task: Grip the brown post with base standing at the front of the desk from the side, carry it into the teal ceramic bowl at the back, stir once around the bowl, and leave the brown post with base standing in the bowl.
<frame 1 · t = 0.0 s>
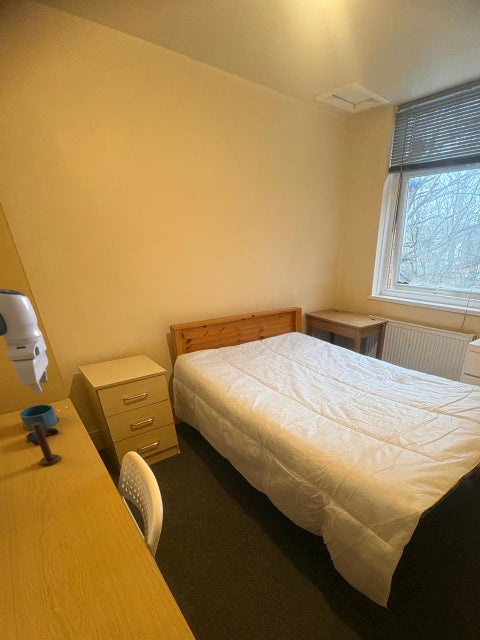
hand: (41, 387, 102), 26 cm above the table, tool pointing down, fingers open, 8 cm apart
brown post with base: (50, 461, 110), on the table
bowl: (41, 423, 132), on the table
gaming controller: (42, 438, 122), on the table
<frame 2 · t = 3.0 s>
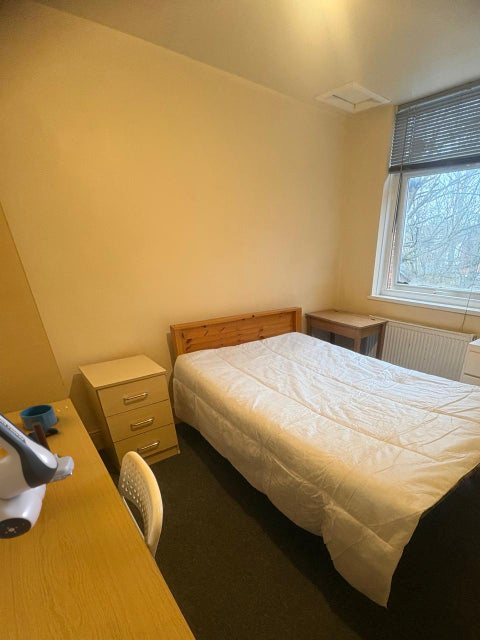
hand: (35, 459, 97), 9 cm above the table, tool horizontal, fingers open, 8 cm apart
nothing on the table moved.
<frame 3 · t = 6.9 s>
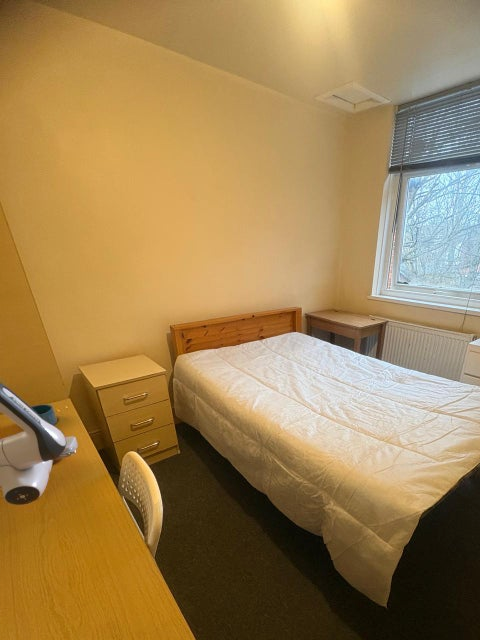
hand: (42, 439, 107), 9 cm above the table, tool horizontal, fingers closed on brown post with base, 2 cm apart
brown post with base: (50, 461, 110), on the table, touching gripper
everything else where it was.
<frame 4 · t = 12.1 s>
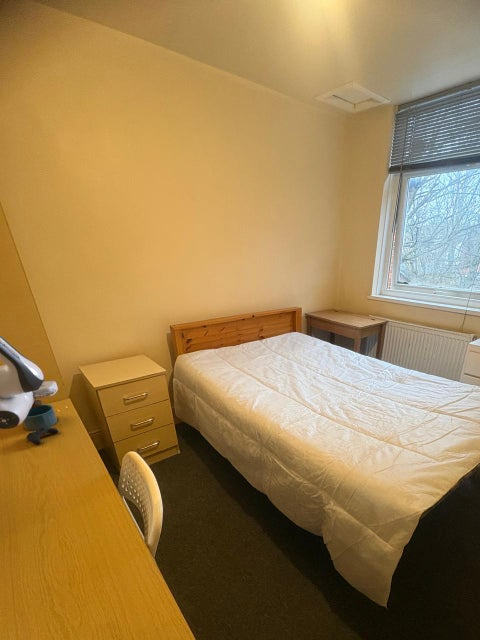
hand: (26, 383, 118), 20 cm above the table, tool horizontal, fingers closed on brown post with base, 2 cm apart
brown post with base: (33, 405, 122), point 11 cm above the table, touching gripper
everything else where it was.
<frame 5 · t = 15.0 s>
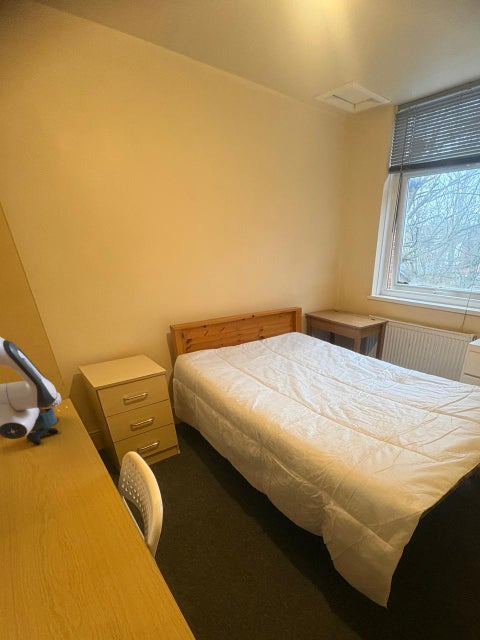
hand: (32, 395, 127), 13 cm above the table, tool horizontal, fingers closed on brown post with base, 2 cm apart
brown post with base: (38, 414, 130), point 4 cm above the table, touching gripper
everything else where it was.
when the fingers open (9 cm above the table, at t = 17.8 s): brown post with base stays where it is, resting on bowl.
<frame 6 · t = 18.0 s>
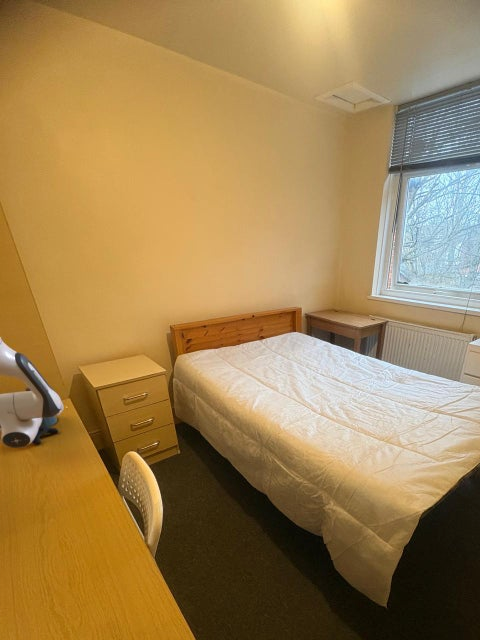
hand: (34, 402, 128), 9 cm above the table, tool horizontal, fingers open, 3 cm apart
brown post with base: (41, 421, 131), point 1 cm above the table, touching bowl
everything else where it was.
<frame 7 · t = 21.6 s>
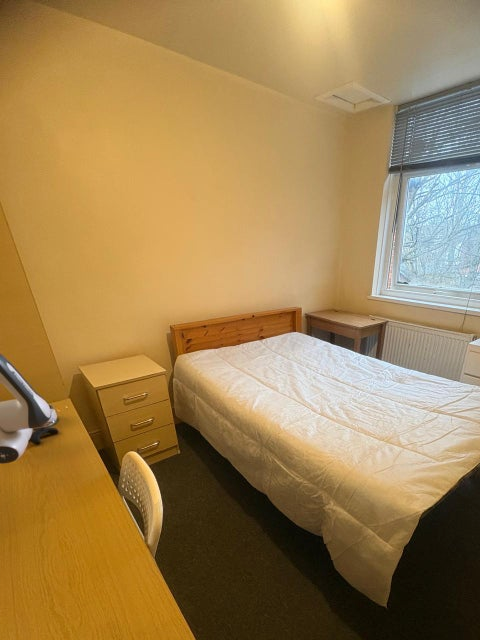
hand: (25, 411, 118), 11 cm above the table, tool horizontal, fingers open, 8 cm apart
nothing on the table moved.
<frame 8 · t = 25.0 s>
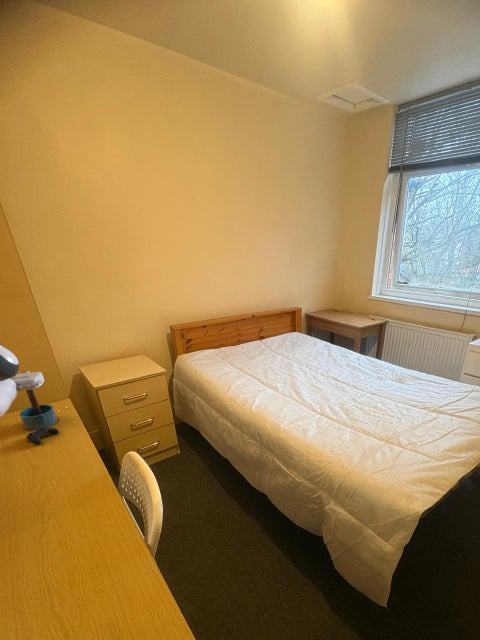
hand: (10, 375, 110), 26 cm above the table, tool horizontal, fingers open, 8 cm apart
nothing on the table moved.
at the end: brown post with base 0.2 cm off-centre in the bowl, point 0.8 cm above the bowl's base; the gripper is holding nothing; brown post with base moved 31.7 cm from its start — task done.
